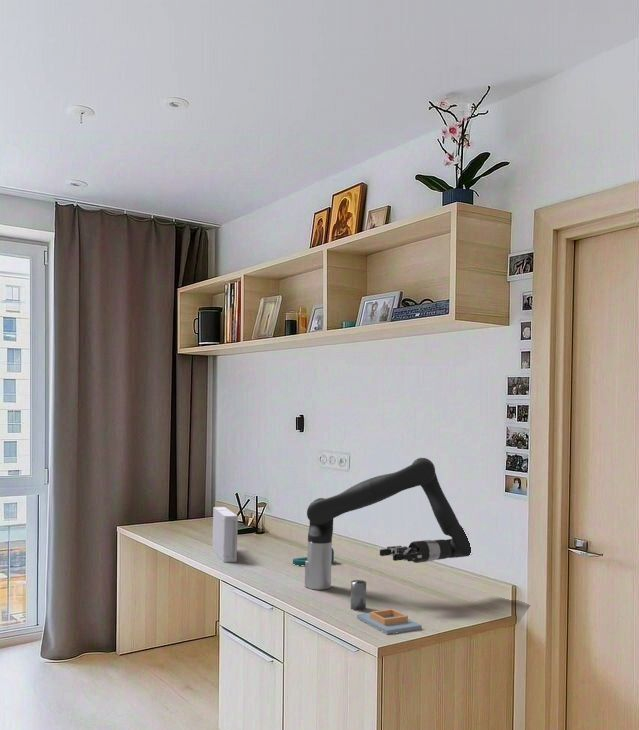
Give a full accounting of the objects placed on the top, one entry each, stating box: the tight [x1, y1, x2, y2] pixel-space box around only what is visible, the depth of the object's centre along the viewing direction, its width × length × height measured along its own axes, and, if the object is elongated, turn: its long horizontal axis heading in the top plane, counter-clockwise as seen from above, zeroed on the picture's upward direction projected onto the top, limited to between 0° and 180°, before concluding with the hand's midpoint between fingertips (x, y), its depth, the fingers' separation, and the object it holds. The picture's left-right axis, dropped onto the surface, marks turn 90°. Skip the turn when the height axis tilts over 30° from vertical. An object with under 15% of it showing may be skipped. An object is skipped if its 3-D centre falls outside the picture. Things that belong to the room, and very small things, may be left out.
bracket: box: [292, 547, 335, 566], centre depth 318 cm, size 18×7×8 cm, turn 120°
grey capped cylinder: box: [350, 579, 367, 611], centre depth 251 cm, size 5×5×9 cm
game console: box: [211, 506, 239, 563], centre depth 330 cm, size 6×27×20 cm, turn 19°
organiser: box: [356, 608, 423, 635], centre depth 235 cm, size 18×13×3 cm
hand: (386, 555), depth 257 cm, fingers open, 8 cm apart
